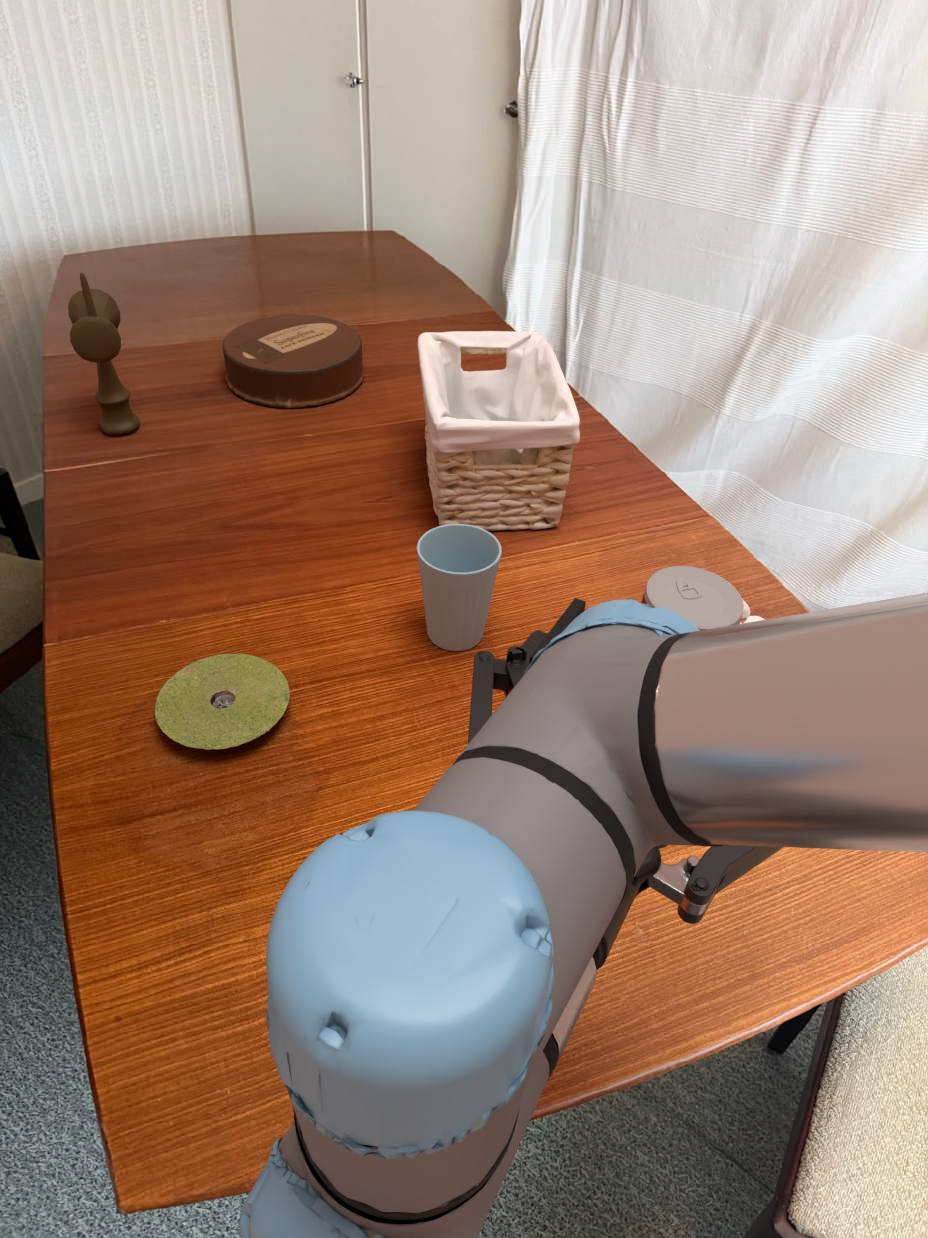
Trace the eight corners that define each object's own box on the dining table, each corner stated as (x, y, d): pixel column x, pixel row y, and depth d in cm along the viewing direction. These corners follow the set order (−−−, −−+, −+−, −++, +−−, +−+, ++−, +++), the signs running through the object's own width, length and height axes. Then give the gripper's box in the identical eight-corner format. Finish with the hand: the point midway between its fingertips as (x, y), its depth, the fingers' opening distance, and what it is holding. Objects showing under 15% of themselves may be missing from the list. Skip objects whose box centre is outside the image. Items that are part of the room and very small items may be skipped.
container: (282, 423, 112) (277, 380, 108) (199, 375, 122) (192, 334, 118) (391, 380, 123) (391, 340, 119) (307, 339, 133) (304, 300, 129)
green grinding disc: (308, 678, 76) (306, 663, 75) (264, 774, 68) (261, 759, 67) (192, 659, 77) (189, 644, 76) (135, 751, 69) (130, 735, 68)
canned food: (666, 649, 77) (693, 554, 70) (730, 704, 72) (766, 607, 65) (603, 680, 73) (624, 583, 66) (666, 739, 69) (696, 641, 61)
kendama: (142, 409, 114) (107, 257, 100) (146, 442, 107) (110, 284, 94) (96, 414, 112) (54, 260, 99) (97, 448, 105) (53, 288, 92)
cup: (399, 631, 82) (399, 545, 75) (454, 597, 86) (458, 513, 79) (454, 671, 78) (459, 584, 71) (508, 633, 82) (518, 548, 75)
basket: (569, 538, 95) (587, 420, 85) (428, 542, 93) (429, 422, 83) (534, 435, 113) (546, 328, 103) (415, 436, 111) (415, 328, 101)
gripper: (310, 851, 44) (497, 628, 58) (778, 1114, 35) (865, 775, 50) (296, 760, 39) (504, 541, 54) (835, 1039, 30) (914, 687, 45)
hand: (678, 653), depth 52 cm, fingers open, 13 cm apart
